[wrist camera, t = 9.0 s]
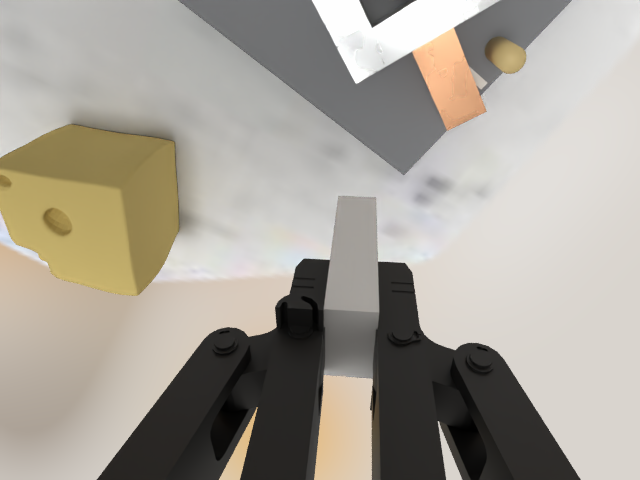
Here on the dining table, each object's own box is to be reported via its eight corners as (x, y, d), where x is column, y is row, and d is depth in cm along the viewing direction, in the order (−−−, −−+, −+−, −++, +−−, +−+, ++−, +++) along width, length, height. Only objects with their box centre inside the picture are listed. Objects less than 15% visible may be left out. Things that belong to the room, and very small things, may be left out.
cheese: (86, 218, 43) (17, 278, 35) (65, 114, 37) (-25, 158, 29) (185, 236, 43) (140, 301, 35) (180, 134, 37) (124, 184, 29)
